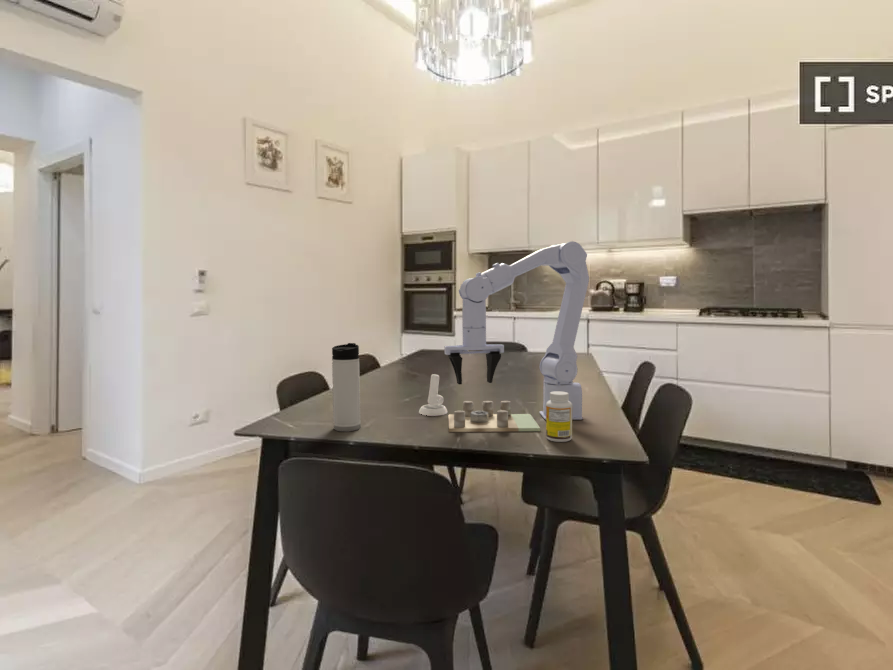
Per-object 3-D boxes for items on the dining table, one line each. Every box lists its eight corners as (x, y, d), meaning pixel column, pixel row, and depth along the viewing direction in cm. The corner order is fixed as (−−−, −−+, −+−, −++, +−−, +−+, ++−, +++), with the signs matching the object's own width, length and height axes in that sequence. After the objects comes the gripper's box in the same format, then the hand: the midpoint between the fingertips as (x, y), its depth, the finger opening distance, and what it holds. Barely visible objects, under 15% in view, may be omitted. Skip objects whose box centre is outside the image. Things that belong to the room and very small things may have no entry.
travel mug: (365, 425, 127) (364, 343, 126) (352, 432, 121) (350, 346, 119) (343, 423, 129) (341, 342, 128) (328, 430, 123) (326, 345, 122)
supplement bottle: (553, 434, 119) (554, 389, 118) (576, 438, 115) (577, 392, 114) (541, 439, 115) (541, 393, 114) (564, 444, 111) (564, 396, 110)
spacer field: (510, 417, 135) (510, 400, 135) (518, 431, 121) (518, 412, 121) (448, 417, 135) (448, 400, 135) (448, 431, 121) (448, 413, 121)
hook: (445, 387, 150) (452, 376, 144) (442, 426, 143) (450, 417, 138) (419, 382, 148) (425, 371, 142) (416, 422, 142) (422, 412, 136)
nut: (485, 418, 131) (485, 410, 131) (491, 422, 127) (491, 413, 127) (467, 419, 130) (467, 411, 129) (473, 423, 126) (473, 414, 126)
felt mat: (530, 416, 135) (530, 414, 135) (540, 431, 121) (540, 428, 121) (510, 417, 135) (510, 414, 135) (518, 431, 121) (518, 428, 121)
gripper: (497, 325, 133) (497, 379, 135) (441, 327, 130) (442, 381, 131) (506, 327, 127) (506, 383, 128) (447, 329, 123) (448, 386, 125)
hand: (474, 383), depth 129 cm, fingers open, 7 cm apart
